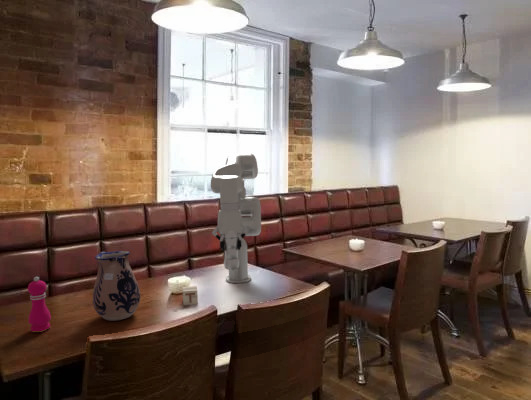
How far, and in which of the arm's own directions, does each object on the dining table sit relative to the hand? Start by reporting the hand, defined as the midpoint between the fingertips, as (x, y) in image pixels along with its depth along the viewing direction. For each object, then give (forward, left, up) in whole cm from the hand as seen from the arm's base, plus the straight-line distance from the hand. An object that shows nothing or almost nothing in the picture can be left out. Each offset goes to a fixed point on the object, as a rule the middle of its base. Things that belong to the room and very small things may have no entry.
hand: (230, 249), depth 176 cm
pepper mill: (+10, -72, -23) cm, 76 cm away
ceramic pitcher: (+3, -47, -23) cm, 52 cm away
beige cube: (-5, -17, -23) cm, 29 cm away
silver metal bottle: (0, 0, -9) cm, 9 cm away
